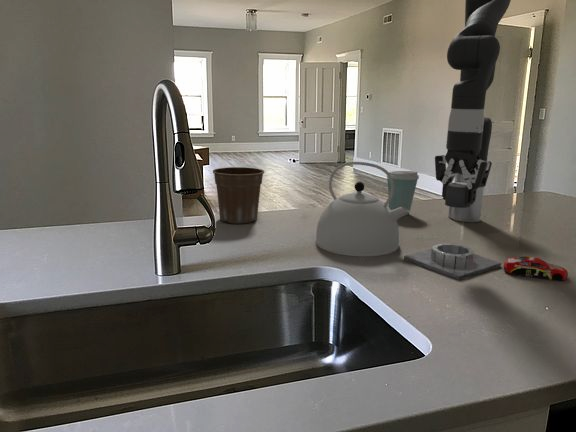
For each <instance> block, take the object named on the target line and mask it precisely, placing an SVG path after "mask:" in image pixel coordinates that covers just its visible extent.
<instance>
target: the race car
mask: <svg viewBox="0 0 576 432" xmlns="http://www.w3.org/2000/svg"><path fill="white" fill-rule="evenodd" d="M503 270H504V271H505V272H506V273H508V274H511V275H514V276H516V277H517V276H518V277H523V276H524V277H530V278H539V279H546V280H553V281H555V282H557V281H558V282H561V281H564V280H567V279H568V278H569V277H568V276H569V272H568V270H567V269H566V268H564V267H563V266H560V265H557V264H553V263H549V262H547V261H545V260H543V259H541V258H539V257H535V256H525V255H524V256H514V257H508V258H507V257H506V259H505V261H504V262H503Z"/></svg>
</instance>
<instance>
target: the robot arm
mask: <svg viewBox="0 0 576 432" xmlns="http://www.w3.org/2000/svg"><path fill="white" fill-rule="evenodd" d="M511 1H512V0H465V4H464V5H465V6H464V7H465V9H464V10H465V11H464V27H463V29H461V30H460V31H459V32H458V33H457V34H456V35H455V36H454V37H453V38H452V40H451V42H450V43H449V46H448V48H447V51H446V59H447V63H448V65H449V67H451V69H453V70H456V71H460V74H459V75H460V77H459V82H456V83H454V85H453V88H452V94H451V106H450V113H449V116H448V123H447V124H448V125H447V133H446V144H445V145H446V146H445V147H446V150H447V152H446V154H445V155H443V154H442V155H441V154H440V155H435V157H434V166H435V179H436V181H439V182H441V183H442V191H441V196H442V199H443V200H444V201H445V199H446V188H447V185H448V184H449V183H453V181H454V182H458V183H467V187H468V189H466V198H465V204H466V205H470V207H467V208H456V207H450V206H448V218H450V219H452V220H454V221H458V222H462V223H477V222H480V221H481V219H482V218H481V217H482V210H483V201H484V191H485V187H486V186H487V182H488V179H489V176H490V171H491V168H492V164H493V163H492V161H491V160H488V157H489V156H488V154H489V147H490V142H491V137H492V130H493V123H492V119H491V118H490V117H485V104H486V97H487V91H488V90H489V88H490V87H491V85H492V83H493V82H494V78H495V72H496V64H497V61H498V60H499V59H498V58H499V55H500V52H501V51H500V50H501V45H500V42H499V39H498V38H497V37H496V33H497V29H498V25H499V23H500V22H501V20H502V18H503V17H504V16H505V14H506V13H507V11H508V9H509V6H510V4H511Z"/></svg>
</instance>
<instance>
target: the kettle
mask: <svg viewBox="0 0 576 432" xmlns="http://www.w3.org/2000/svg"><path fill="white" fill-rule="evenodd" d="M355 165H356V166H366V167H372V168H376V169H378V170H380V171H382V172H383V173H384V174H386V177H387V176H388V177H389V179H390V182H391V192H390V195H389V197H388V196H387V199H386V201H385V202H384V201H383V200H381V199H379V197H377V196H375V195H373V194H368V193H365V192H363V191H364V189H365V184H364V183H363V182H361V181H357V182H355V184H354V189H355V191H356V192H351V193H345V194H342V195H341V196H339V197H337V196H336V194H335V193H334V190H333V185H332V184H333V179H334V176H335V175H336V173H337V172H338V171H339V170H341V169H343V168H345V167H347V166H355ZM389 172H390V171H388V170H387V169H386V168H384V167H382V166H381V165H378V164H374V163H370V162H365V161H347V162H344V163H342V164H340V165H338V166H337V167H336V168H334V170H333V171H332V172H331V174H330V177H329V181H328V190H329V193H330V195H331V197H332V199H333V200H332V202H330V203H329V204H328V205H327V206H326V207H325V208H324V210H323V211H322V213H321V215H320V216H319V219H318V221H317V226H316V233H315V234H316V235H315V244H316V246H317V247H319V248H320V249H321V250H322V249H323V250H325V251H327V252H330V253H334V254H336V255H337V254H338V255H343V256H350V257H352V256H353V257H377V256H383V255H388V254H391V253H394V252H396V251H398V249H399V246H400V243H399V242H400V240H399V239H400V230H399V225H398V220H400V219H401V218H402V217H404V215H405V214H407V213H408V212H409V210H408V209H406V208H405V207H399V208H396V209H394V210H390V208H389V202H390V200H391V198H392V196H393V193H394V181H393V178H392V176H391V175H390V173H389ZM409 213H410V212H409ZM405 216H406V215H405Z"/></svg>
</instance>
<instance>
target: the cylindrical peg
mask: <svg viewBox="0 0 576 432" xmlns="http://www.w3.org/2000/svg"><path fill="white" fill-rule="evenodd" d="M466 189H468V187H467V183H458V182H455V181H454V182H452V183H449V184H448V185H447V188H446V199H445V200H444V205H445V206H447V207H449V206H450V207H456V208H467V207H470V205H466V204H465V198H466Z"/></svg>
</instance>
